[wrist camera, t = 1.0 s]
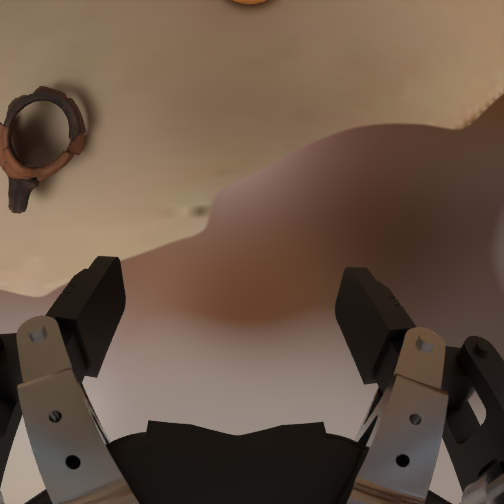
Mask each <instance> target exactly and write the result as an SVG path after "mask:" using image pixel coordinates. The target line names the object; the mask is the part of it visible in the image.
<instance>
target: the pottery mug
mask: <svg viewBox="0 0 504 504" xmlns="http://www.w3.org/2000/svg"><path fill="white" fill-rule="evenodd" d="M36 101H49V102H52V103H55V104H56V105H58V106H59V107H60V108H61V109H62V110H63V111H64V113H65V115H66V117H67V119H68V123H69V139H71V141H70V144H69V146H68V148H67V150H66V151H63V152H62V153H61V154H60V156H59V157H58V158H57V159H56V160H55V161H53V162H52V163H50V164H48V165H46V166H43V167H34V168H32V167H28V166H26V165H25V163H24V162H23V161H21V160H20V159H19V158H18V157H17V156H16V154H15V152H14V150H13V148H12V143H11V136H12V131H13V127H14V125H15V122H16V119H15V117H16V116H17V114H18V113H19V112H20V111H21V110H22V109H23V108H24V107H26V106H27V105H29V104H31V103H33V102H36ZM84 133H85V125H84V121H83V118H82V115H81V112H80V110H79V108H78V106H77V105H76V104H75V102H74V101H73V99H71V98H67V96H66V94H65V93H63V92H61V91H58V90H55V89H51V88H48V87H45V86H40V87H39V88H37V89H36V90H35V92H34V93H33V94H30V95H28V96H27V95H23V96H20V97H19V98H15V99H14V100H13V101H12V102H11V103H10V104H9V106H8V111H7V117H6V119H5V122H4V125H3V124H2V123H1V122H0V166H1V167H2V169H3V170H4V171H5V173H6V174H7V175H8V177H9V192H8V196H9V206H8V207H9V209H10V210H11V211H12V212H13V213H22V212H25V211H26V208H27V205H28V199H29V196H30V193H31V191H32V190H33V189H34V188H35V187H37V186H39V181H40V180H43V179H45V178H47V177H49V176H51V175H53V174H55V173H56V172H58V171H59V170H60V169H61V168H63V167H64V166H65V165H66V164H67V163H68V162H69V161H70V160H71V159H72V157H73V156H74V154H77V155H80V153H81V150H82V147H83V144H84V140H85V135H84Z"/></svg>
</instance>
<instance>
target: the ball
mask: <svg viewBox="0 0 504 504" xmlns="http://www.w3.org/2000/svg"><path fill="white" fill-rule="evenodd" d="M233 1H235V2H238V3H243V4H257V3H261V2H264V1H266V0H233Z"/></svg>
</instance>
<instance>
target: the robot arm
mask: <svg viewBox="0 0 504 504" xmlns="http://www.w3.org/2000/svg"><path fill="white" fill-rule="evenodd" d="M125 303H126V296H125V289H124V283H123V276H122V269H121V263H120V259H119V258H118V257H109V256H98V257H97V258H96V259H95V260H94V262H93V263H92V264H91V266H90V267H89V268H88V269H84V270H82V271H81V272H79V273H78V274H76V275H75V276H74V277H73V278H72V279H71V281H70V282H69V283H68V286H66V288H65V289H64V290H63V293H61V294H60V295H59V297H58V298H57V300H56V301H55V302H54V304H53V305H52V307H51V308H50V310H49V311H48V312H47V314H46V315H45V316H36V317H33V318H31V319H29V320H27V321H25V322H24V323H23V324H22V325H21V326H20V327H19V329H18V331H17V333H13V334H0V487H1V482H2V478H3V474H4V471H5V467H6V463H7V460H8V456H9V453H10V450H11V447H12V443H13V440H14V437H15V434H16V431H17V429H18V426H19V423H20V420H21V417H22V415H23V418H24V422H25V426H26V430H27V433H28V437H29V440H30V444H31V447H32V450H33V454H34V456H35V460H36V463H37V465H38V468H39V471H40V474H41V476H42V479H43V482H44V484H45V487H46V489H45V490H44V491H42V492H41V493H39V494H38V495H37V496H35V497H34V498H32V499H31V500H29V501H28V502H26V503H25V504H452V503H450V502H448V501H446V500H445V499H443V498H441V497H440V496H438V495H437V494H435V493H433V492H432V491H430V490H429V486H430V483H431V480H432V476H433V472H434V469H435V465H436V461H437V457H438V452H439V448H440V444H441V439H442V438H443V440H444V443H445V445H446V448H447V450H448V453H449V455H450V458H451V461H452V463H453V466H454V469H455V472H456V474H457V477H458V480H459V483H460V486H461V489H462V492H463V495H462V502H461V503H459V504H504V361H503V359H502V358H501V356H500V355H499V354H498V352H497V351H496V349H495V348H494V347H493V345H492V344H491V343H489V342H488V341H487V340H485V339H483V338H481V337H478V336H470V337H468V338H467V339H466V340H465V342H464V344H463V345H462V347H461V348H456V347H449V346H445V344H444V342H443V340H442V339H441V338H440V337H439V336H438V335H437V334H436V333H434V332H433V331H431V330H428V329H425V328H420V327H416V325H415V324H414V322H413V321H412V320H411V318H410V317H409V315H408V314H407V312H406V311H405V310H404V308H403V307H402V306H400V303H399V301H398V300H397V299H395V296H394V295H393V293H392V292H391V291H390V289H389V288H387V287H386V286H385V285H384V284H382V283H381V282H379V281H377V280H376V279H375V278H374V276H373V275H372V274H371V272H370V271H369V270H368V269H367V268H365V267H347V268H346V269H345V270H344V273H343V276H342V281H341V284H340V288H339V292H338V296H337V299H336V303H335V315H336V320H337V322H338V324H339V326H340V329H341V331H342V333H343V336H344V338H345V340H346V342H347V345H348V347H349V349H350V352H351V354H352V356H353V359H354V361H355V364H356V366H357V368H358V371H359V373H360V376H361V378H362V380H363V383H364V384H372V383H377V384H378V386H379V387H378V389H377V391H376V393H375V395H374V398H373V400H372V402H371V405H370V407H369V410H368V412H367V414H366V416H365V418H364V421H363V423H362V425H361V427H360V429H359V431H358V433H357V435H356V437H355V439H354V440H351V439H349V438H346V437H343V436H339V435H334V434H328V433H326V430H325V426H324V423H323V422H317V423H306V424H292V425H281V426H277V427H273V428H269V429H266V430H262V431H258V432H253V433H249V434H245V435H238V436H237V435H230V434H226V433H222V432H218V431H214V430H210V429H206V428H202V427H199V426H195V425H191V424H178V423H168V422H159V421H150V420H149V421H148V426H147V432H141V433H136V434H131V435H128V436H125V437H122V438H119V439H117V440H114V441H112V442H110V440H109V438H108V436H107V435H106V433H105V431H104V429H103V427H102V425H101V423H100V421H99V419H98V417H97V415H96V413H95V411H94V409H93V407H92V404H91V402H90V400H89V398H88V395H87V393H86V391H85V389H84V386H83V384H82V381H83V379H84V376H90V377H96V378H97V376H98V374H99V371H100V368H101V366H102V363H103V360H104V358H105V355H106V353H107V350H108V348H109V346H110V343H111V341H112V338H113V336H114V333H115V331H116V329H117V326H118V324H119V321H120V319H121V316H122V315H123V312H124V309H125ZM475 391H476V392H477V394H478V395H479V397H480V399H481V400H482V403H483V404H484V406H485V408H486V419H485V421H484V423H483V424H482V425H481V426H480V424H479V422H478V420H477V418H476V416H475V414H474V412H473V410H472V408H471V406H470V404H469V402H468V399H469V398H470V397H471V396H472V395H473V393H474V392H475ZM0 504H5V503H4V501H3V496H2V493H1V491H0Z"/></svg>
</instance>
